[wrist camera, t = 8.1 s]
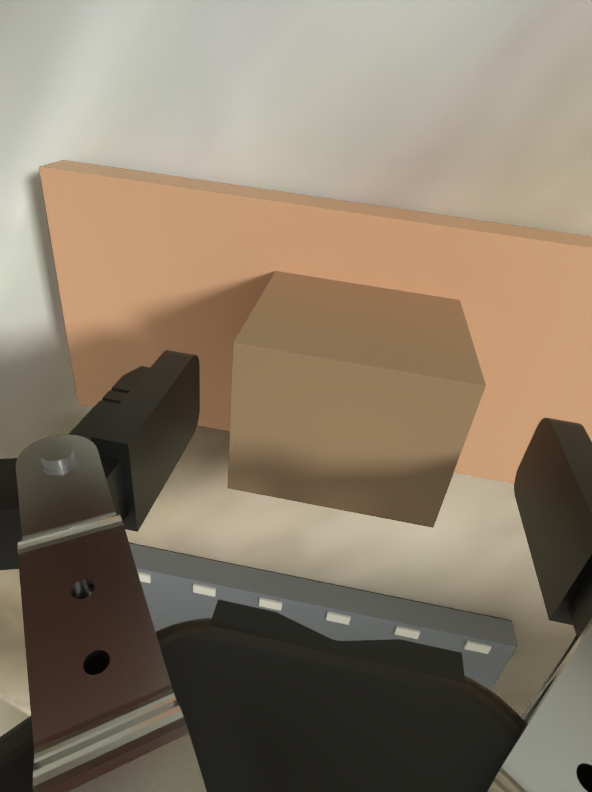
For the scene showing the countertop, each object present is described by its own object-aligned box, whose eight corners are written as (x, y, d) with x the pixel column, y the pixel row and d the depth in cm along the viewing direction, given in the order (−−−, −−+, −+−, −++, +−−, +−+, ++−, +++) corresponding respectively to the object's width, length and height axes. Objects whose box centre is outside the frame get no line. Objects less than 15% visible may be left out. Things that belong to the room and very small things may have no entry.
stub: (730, 257, 13) (921, 361, 8) (600, 476, 17) (679, 627, 12) (63, 159, 14) (-97, 202, 10) (95, 385, 18) (-6, 491, 14)
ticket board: (511, 620, 22) (517, 649, 21) (435, 751, 29) (437, 777, 28) (118, 540, 23) (105, 563, 22) (138, 684, 31) (128, 706, 29)
